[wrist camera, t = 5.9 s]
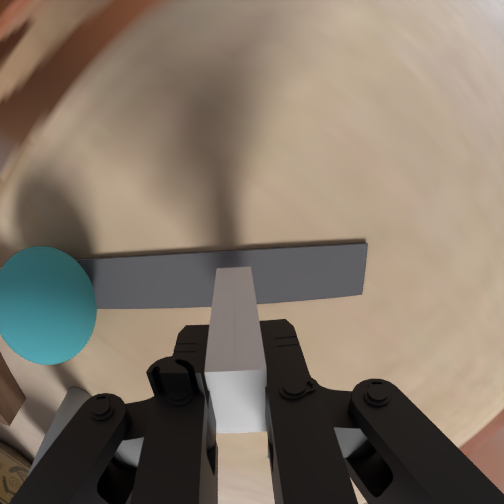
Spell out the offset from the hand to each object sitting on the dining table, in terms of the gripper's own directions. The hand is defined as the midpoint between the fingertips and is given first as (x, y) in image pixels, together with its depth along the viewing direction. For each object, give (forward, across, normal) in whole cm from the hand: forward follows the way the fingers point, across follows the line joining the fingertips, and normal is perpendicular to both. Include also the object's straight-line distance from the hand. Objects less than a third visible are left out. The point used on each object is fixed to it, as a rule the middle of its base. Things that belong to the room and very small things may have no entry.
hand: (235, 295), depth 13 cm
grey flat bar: (+2, +1, 0) cm, 2 cm away
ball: (-1, +10, 0) cm, 10 cm away
